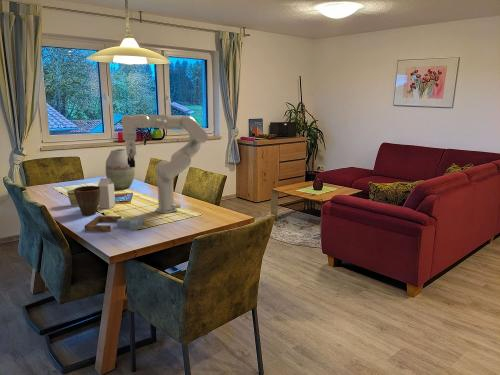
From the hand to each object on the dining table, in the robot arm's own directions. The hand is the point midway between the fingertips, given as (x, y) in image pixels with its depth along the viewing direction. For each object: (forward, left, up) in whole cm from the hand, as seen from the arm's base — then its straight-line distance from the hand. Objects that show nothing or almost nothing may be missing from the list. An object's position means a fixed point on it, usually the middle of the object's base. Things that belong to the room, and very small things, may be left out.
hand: (131, 165), depth 233 cm
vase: (+33, -70, -30) cm, 83 cm away
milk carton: (+23, -16, -30) cm, 41 cm away
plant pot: (+28, 0, -30) cm, 41 cm away
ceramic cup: (+43, -19, -30) cm, 56 cm away
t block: (-4, +22, -30) cm, 38 cm away
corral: (+10, +22, -30) cm, 39 cm away
